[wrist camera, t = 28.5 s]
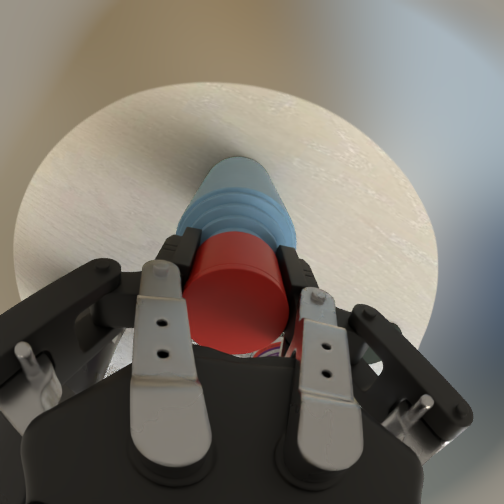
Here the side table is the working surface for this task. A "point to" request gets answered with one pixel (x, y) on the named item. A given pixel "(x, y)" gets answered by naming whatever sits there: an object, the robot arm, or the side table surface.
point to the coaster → (371, 355)
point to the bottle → (239, 205)
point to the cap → (235, 294)
